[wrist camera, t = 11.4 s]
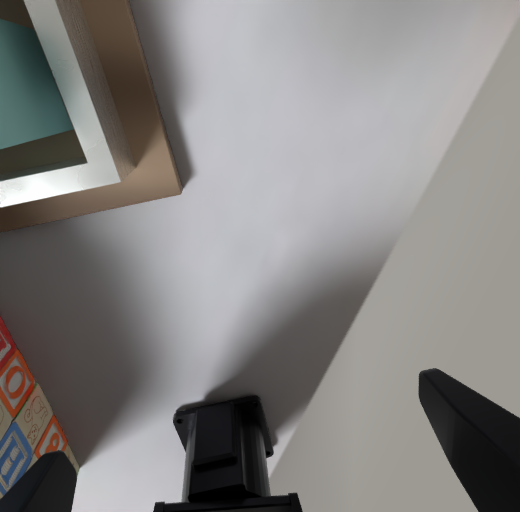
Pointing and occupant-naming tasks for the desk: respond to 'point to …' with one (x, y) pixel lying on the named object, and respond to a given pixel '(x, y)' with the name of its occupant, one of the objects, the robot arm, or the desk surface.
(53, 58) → the frame
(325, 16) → the desk surface
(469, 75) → the desk surface
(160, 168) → the base board
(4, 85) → the teal block
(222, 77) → the desk surface
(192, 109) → the desk surface
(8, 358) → the stack of blocks
